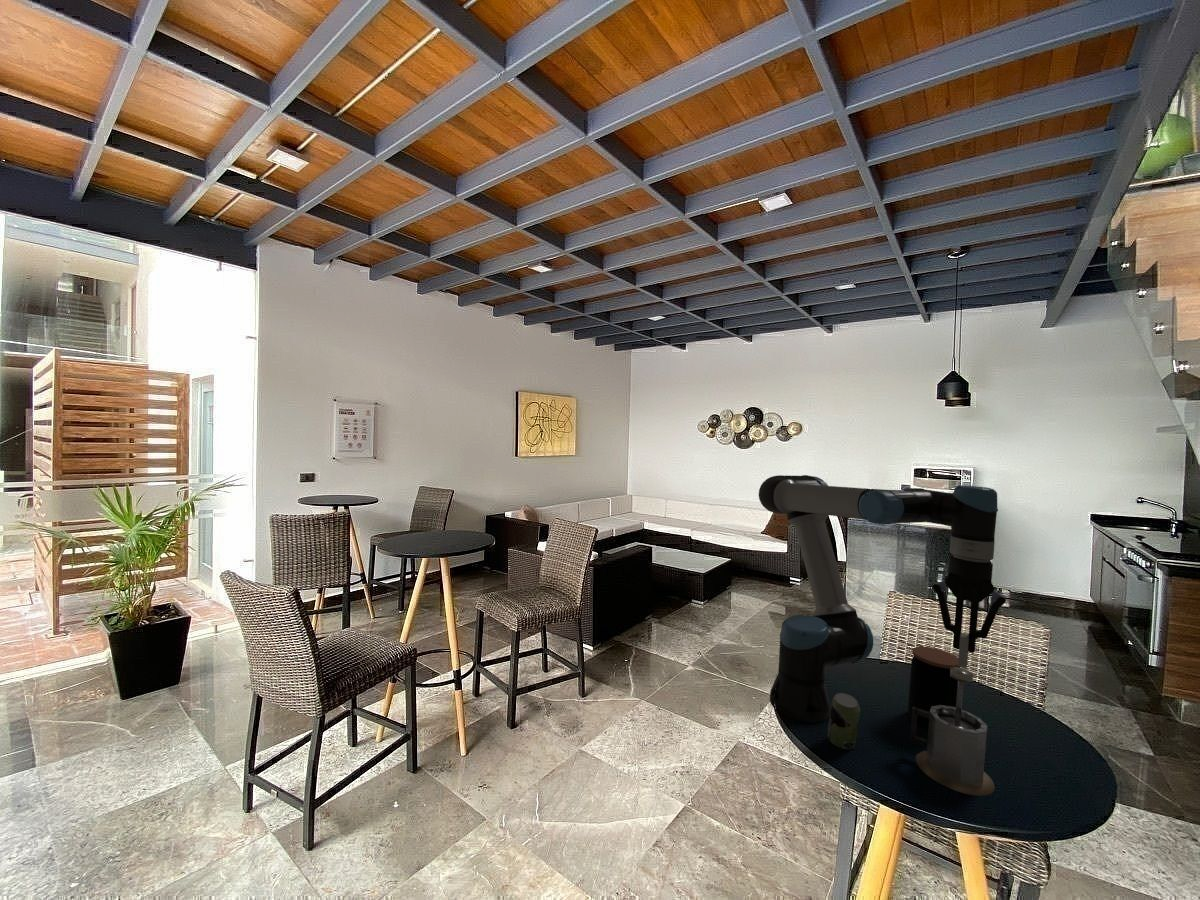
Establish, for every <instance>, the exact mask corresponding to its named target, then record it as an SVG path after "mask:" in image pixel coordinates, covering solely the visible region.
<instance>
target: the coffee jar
mask: <svg viewBox="0 0 1200 900" xmlns="http://www.w3.org/2000/svg"><path fill="white" fill-rule="evenodd" d="M911 651H912V652H911V653H912V655H913V656H912V659H911V663H910V675H909V677H910V678H909V689H908V701H907V702H908V703H907V714H908V717H909V718H910V719H911V716H912V707H913V706H914V707H916V708H919V709H922V710H925V711H928V712H930V709H931V707H932V706H937V705H944V706H952V707H955V708H956V700H957V687H958V680H956V679H954V678H952V677H951V676H950V668H951V667H959V668H961V667H960V666H958V658H959V656H957V655H955V654H953V653H951V652H949V651H947V650H946V651H945V650H943V649H939V648H935V647H930V646H915V647H913V648H912V650H911ZM917 725H919V726H920V727H922V728H924V729H926V730H928V728H929V718H926V717H923V716H920V715H917Z"/></svg>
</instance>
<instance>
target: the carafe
mask: <svg viewBox="0 0 1200 900" xmlns="http://www.w3.org/2000/svg"><path fill="white" fill-rule="evenodd" d="M955 713H956V708H955V707H952V706H944V705H937V706H932V707H931V709H930V712H928V711H925V710H922V709H919V708H916V707H914V706H913V707H912V716H911V718H910V729H909V730H910V731H909V741H911V742H913V743H917V744H918V745H921V746H923V747H926V751H927V754H926V765H927V766H928V767H929V769H930V770H931V771H932V772H933V773H934V774H936V775H937V776H939V777H940V778H941V779H943V780H944V781H947V782H949V783H952V784H954V785H957V786H959V787H965V788H971V789H975V788H979V787H982V786H983V774H984V772H985V771H984V770H985V759H986V746H987V734H988V725H987V723H986V722H984V721H983V719H981V718H980V717H978V716H977V715H975V714H972V713H970V712H969V711H967V710H964V709H962V710H961V720H962V721H965V722H967V723H968V724H970V725H972V726H973V727H974V728H975V729H976V730H970V729H963V728H960V727H957V726H954V725H951V724H949V723H947V722H946V721H944V720H942V719H940V718H941V717H953V718H955ZM917 715H920V716H923V717H926V718H929V728H928V729H927V731H928V732H927V738H924V737H921V736H918V735H917V728H918V727H917V725H918V724H917Z"/></svg>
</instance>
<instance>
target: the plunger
mask: <svg viewBox="0 0 1200 900" xmlns="http://www.w3.org/2000/svg"><path fill="white" fill-rule="evenodd" d="M950 676H951V677H952V678H954V679H956V680H958V687H957V700H956V713H955V718H953V717H941V718H940V719H942V720H944V721H946V722H947V723H949V724H951V725H954V726H957V727H960V728H963V729H970V730H976V729H975V728H974V727H973V726H972V725H970V724H968V723H967V722H965V721H962V720H961V710H963V709H962V708H963V707H962V706H963V696H964V695H963V694H964V683H973V681H974V674H973V671H970V670H968V669H967V668H964V667H960V668H959V667H951V668H950Z"/></svg>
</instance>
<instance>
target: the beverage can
mask: <svg viewBox="0 0 1200 900" xmlns="http://www.w3.org/2000/svg"><path fill="white" fill-rule="evenodd" d="M830 701H831V702H830V706H831V708H830V717H829V718H828V725H827V738H828V741H829V742H830V743H831V744H832V745H834V746H835V747H836V748H839V749H842V750H853V749H854V748H855V747H856V745H857V744H856V742H857V737H858V736H857V735H858V728H859V722H860V721H859V720H860V714H861V708H860V705H859V702H858V700H857V698H855V696H852V695H851V694H848V693H846V692H837V693H836V694H834V696H833V697H832V699H831V700H830Z"/></svg>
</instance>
